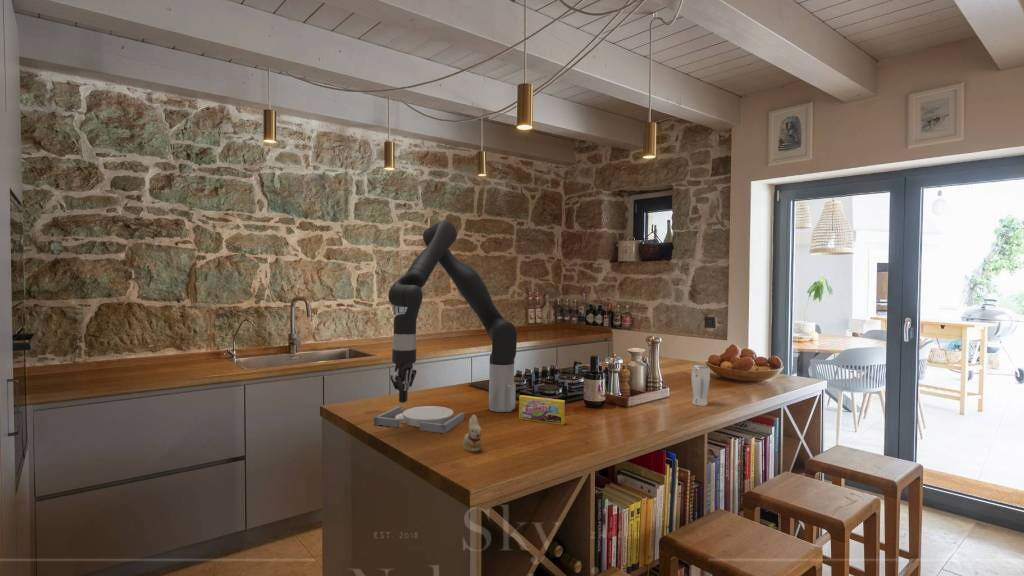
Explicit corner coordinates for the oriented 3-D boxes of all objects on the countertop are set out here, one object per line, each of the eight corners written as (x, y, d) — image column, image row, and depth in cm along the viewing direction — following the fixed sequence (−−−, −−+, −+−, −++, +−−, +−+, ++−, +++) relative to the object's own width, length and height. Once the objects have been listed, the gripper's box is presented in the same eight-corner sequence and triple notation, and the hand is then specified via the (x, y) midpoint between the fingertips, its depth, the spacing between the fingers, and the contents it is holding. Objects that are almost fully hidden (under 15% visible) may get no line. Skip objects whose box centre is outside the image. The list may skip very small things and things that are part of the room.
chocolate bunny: (461, 452, 151) (461, 417, 151) (463, 443, 159) (464, 410, 159) (480, 453, 151) (481, 418, 151) (482, 444, 159) (482, 410, 159)
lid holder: (464, 419, 184) (464, 412, 184) (444, 433, 168) (444, 425, 168) (398, 412, 192) (398, 405, 191) (374, 424, 176) (374, 417, 176)
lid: (402, 413, 192) (402, 404, 192) (457, 415, 191) (457, 406, 191) (388, 427, 175) (388, 418, 175) (448, 429, 174) (448, 420, 174)
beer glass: (710, 403, 213) (711, 366, 212) (706, 407, 207) (707, 369, 206) (692, 401, 217) (694, 364, 216) (688, 404, 211) (689, 367, 210)
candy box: (518, 419, 186) (518, 396, 186) (520, 418, 188) (520, 394, 188) (562, 425, 180) (563, 401, 180) (564, 423, 182) (565, 399, 182)
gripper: (404, 351, 162) (403, 408, 162) (424, 345, 174) (423, 398, 175) (382, 349, 164) (381, 405, 164) (404, 344, 176) (403, 396, 177)
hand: (403, 401), depth 170 cm, fingers closed
